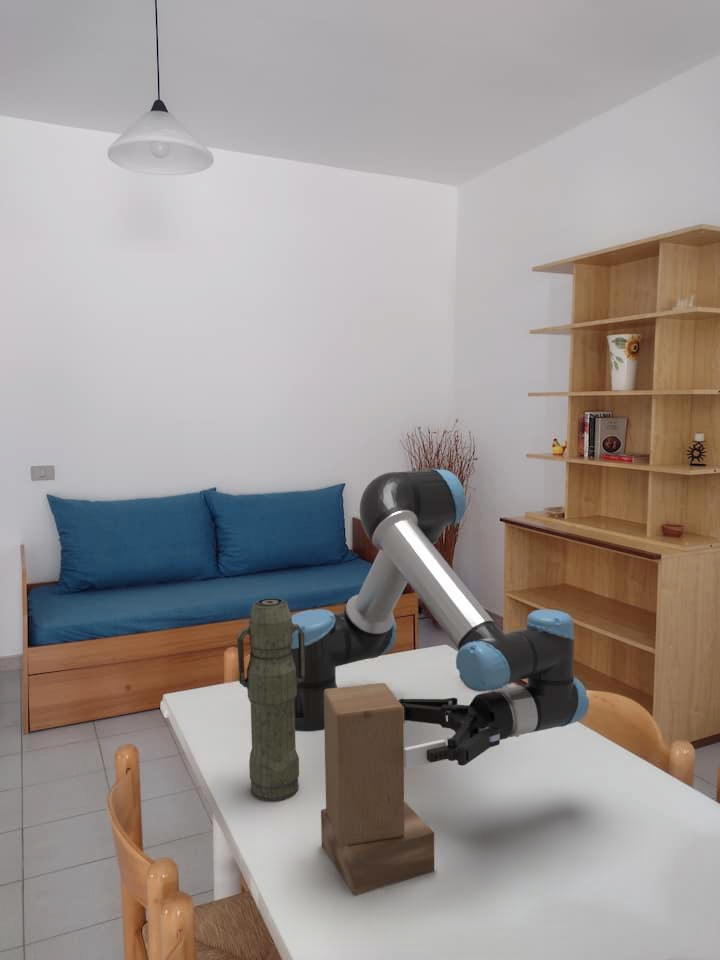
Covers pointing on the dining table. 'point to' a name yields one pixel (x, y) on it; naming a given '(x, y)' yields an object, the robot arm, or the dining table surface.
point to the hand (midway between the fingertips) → (384, 739)
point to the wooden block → (364, 763)
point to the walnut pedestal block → (382, 855)
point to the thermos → (272, 698)
